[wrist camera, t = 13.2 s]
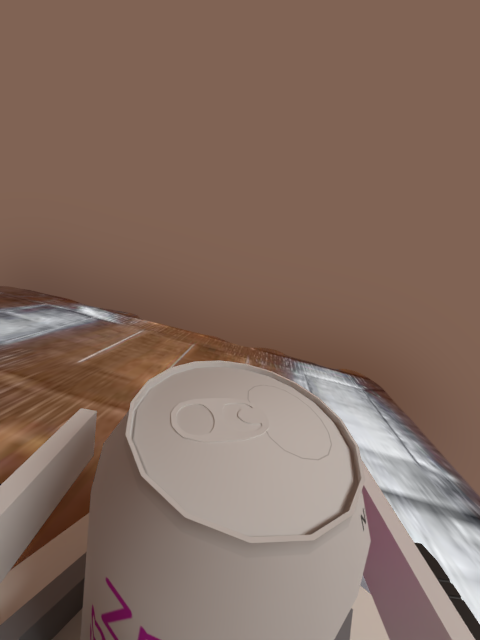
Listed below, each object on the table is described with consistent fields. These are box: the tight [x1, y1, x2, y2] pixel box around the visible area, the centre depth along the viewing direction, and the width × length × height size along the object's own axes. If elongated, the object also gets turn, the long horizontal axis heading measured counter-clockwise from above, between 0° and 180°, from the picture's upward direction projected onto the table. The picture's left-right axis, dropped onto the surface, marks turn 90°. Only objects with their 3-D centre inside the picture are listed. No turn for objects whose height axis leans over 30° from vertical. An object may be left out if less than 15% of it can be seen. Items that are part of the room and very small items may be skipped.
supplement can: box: [80, 361, 371, 640], centre depth 9 cm, size 8×8×15 cm
